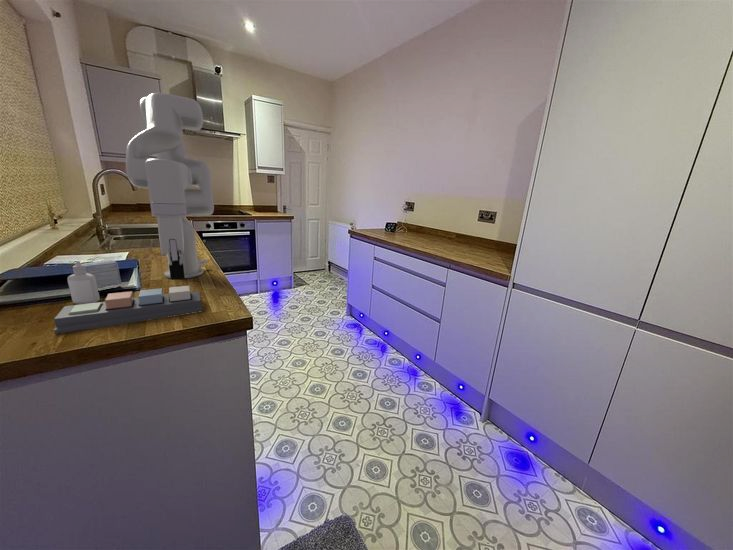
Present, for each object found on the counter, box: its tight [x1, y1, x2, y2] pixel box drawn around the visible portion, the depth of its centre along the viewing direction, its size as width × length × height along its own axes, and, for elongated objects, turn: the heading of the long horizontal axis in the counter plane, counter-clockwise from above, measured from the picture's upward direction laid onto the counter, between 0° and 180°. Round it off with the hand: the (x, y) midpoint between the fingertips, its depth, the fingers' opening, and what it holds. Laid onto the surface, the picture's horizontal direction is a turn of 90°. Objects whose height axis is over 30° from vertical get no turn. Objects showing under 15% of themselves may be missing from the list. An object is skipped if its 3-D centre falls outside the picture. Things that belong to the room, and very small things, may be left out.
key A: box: [168, 285, 191, 301], centre depth 81 cm, size 5×5×2 cm
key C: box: [70, 301, 102, 315], centre depth 71 cm, size 5×5×2 cm
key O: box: [104, 291, 134, 309], centre depth 74 cm, size 5×5×2 cm
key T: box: [137, 287, 164, 305], centre depth 77 cm, size 5×5×2 cm
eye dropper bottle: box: [66, 260, 101, 305], centre depth 80 cm, size 4×6×12 cm
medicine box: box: [81, 259, 122, 288], centre depth 90 cm, size 8×4×9 cm, turn 149°
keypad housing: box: [53, 290, 203, 335], centre depth 76 cm, size 29×11×3 cm, turn 123°
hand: (177, 278), depth 79 cm, fingers closed
